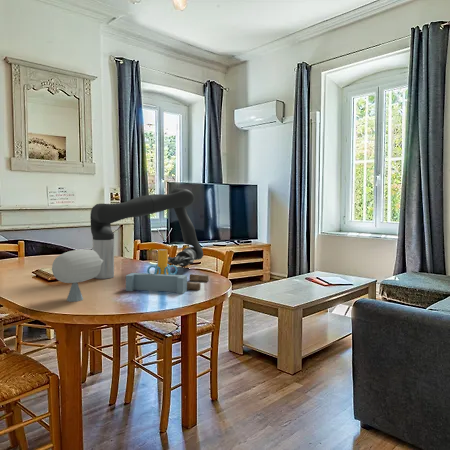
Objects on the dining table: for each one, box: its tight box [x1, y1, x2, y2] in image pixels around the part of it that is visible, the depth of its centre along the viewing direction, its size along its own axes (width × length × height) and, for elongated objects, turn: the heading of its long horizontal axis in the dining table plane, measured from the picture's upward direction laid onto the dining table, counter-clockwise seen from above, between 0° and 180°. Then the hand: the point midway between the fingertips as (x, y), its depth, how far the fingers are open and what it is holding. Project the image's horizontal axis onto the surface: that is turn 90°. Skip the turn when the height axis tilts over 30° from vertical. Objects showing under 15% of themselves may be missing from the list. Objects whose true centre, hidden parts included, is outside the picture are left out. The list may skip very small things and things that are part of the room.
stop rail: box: [125, 272, 188, 295], centre depth 158 cm, size 23×6×6 cm, turn 81°
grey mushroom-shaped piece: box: [51, 248, 103, 303], centre depth 143 cm, size 15×20×18 cm
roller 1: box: [189, 273, 210, 283], centre depth 178 cm, size 8×3×3 cm
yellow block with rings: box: [146, 248, 178, 275], centre depth 166 cm, size 12×10×15 cm
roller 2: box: [187, 281, 202, 291], centre depth 161 cm, size 8×3×3 cm, turn 81°
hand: (175, 263), depth 183 cm, fingers closed
